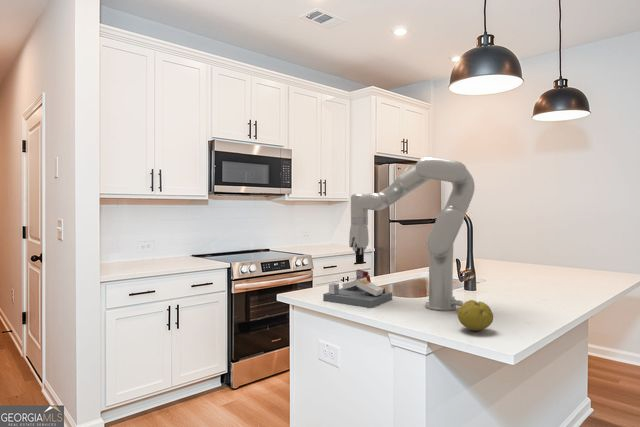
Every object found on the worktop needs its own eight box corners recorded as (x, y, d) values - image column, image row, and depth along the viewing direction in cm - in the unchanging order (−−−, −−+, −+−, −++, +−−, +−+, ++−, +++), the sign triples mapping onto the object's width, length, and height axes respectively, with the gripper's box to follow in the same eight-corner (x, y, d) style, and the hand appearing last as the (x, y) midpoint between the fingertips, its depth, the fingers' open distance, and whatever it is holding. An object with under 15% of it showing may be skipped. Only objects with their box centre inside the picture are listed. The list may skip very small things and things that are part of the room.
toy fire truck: (363, 294, 200) (363, 272, 200) (351, 289, 211) (351, 269, 211) (375, 293, 203) (375, 271, 202) (363, 288, 214) (363, 268, 214)
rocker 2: (382, 293, 185) (383, 288, 184) (376, 296, 180) (377, 290, 179) (362, 284, 190) (364, 279, 189) (356, 286, 185) (358, 281, 184)
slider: (338, 292, 188) (338, 283, 188) (334, 294, 184) (334, 285, 184) (333, 292, 189) (333, 283, 189) (328, 293, 186) (328, 284, 186)
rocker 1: (367, 282, 195) (366, 276, 196) (361, 284, 190) (359, 278, 191) (349, 286, 201) (348, 281, 201) (343, 288, 196) (341, 283, 196)
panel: (392, 299, 190) (392, 288, 190) (371, 308, 173) (372, 296, 173) (346, 293, 203) (346, 283, 203) (323, 300, 186) (323, 289, 186)
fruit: (451, 326, 147) (451, 297, 147) (484, 325, 147) (484, 297, 147) (463, 336, 136) (464, 305, 136) (499, 335, 136) (499, 304, 136)
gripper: (360, 221, 194) (360, 260, 194) (343, 222, 182) (343, 264, 182) (374, 221, 190) (375, 261, 190) (358, 222, 178) (359, 265, 178)
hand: (359, 263), depth 186 cm, fingers closed
